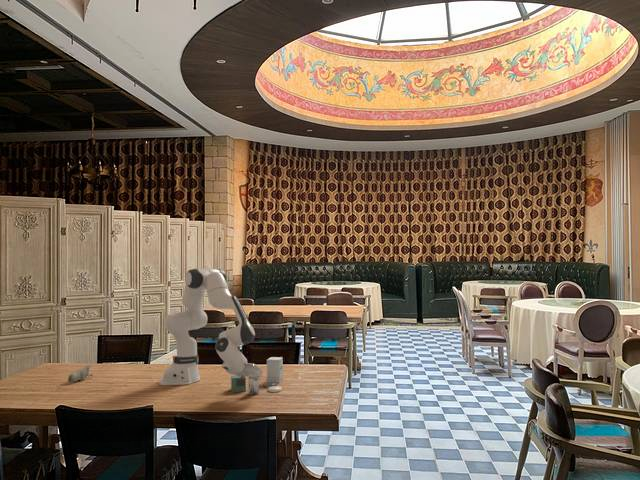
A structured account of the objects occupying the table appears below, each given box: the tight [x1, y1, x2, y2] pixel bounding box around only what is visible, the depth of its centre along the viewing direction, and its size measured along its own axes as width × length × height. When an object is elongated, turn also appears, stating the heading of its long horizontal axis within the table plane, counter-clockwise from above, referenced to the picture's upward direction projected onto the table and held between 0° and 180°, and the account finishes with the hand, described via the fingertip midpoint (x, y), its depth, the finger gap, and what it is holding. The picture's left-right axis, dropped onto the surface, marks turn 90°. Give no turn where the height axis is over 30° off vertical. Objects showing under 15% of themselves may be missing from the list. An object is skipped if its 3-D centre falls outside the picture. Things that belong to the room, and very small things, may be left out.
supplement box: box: [266, 356, 284, 384], centre depth 279 cm, size 7×7×13 cm
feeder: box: [230, 374, 247, 393], centre depth 263 cm, size 7×7×7 cm
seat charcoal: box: [263, 381, 278, 389], centre depth 270 cm, size 7×7×1 cm
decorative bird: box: [67, 364, 93, 384], centre depth 291 cm, size 5×16×8 cm, turn 162°
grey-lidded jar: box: [248, 377, 260, 396], centre depth 257 cm, size 5×5×11 cm
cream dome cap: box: [267, 385, 283, 393], centre depth 261 cm, size 7×7×1 cm
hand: (250, 378), depth 255 cm, fingers open, 8 cm apart
